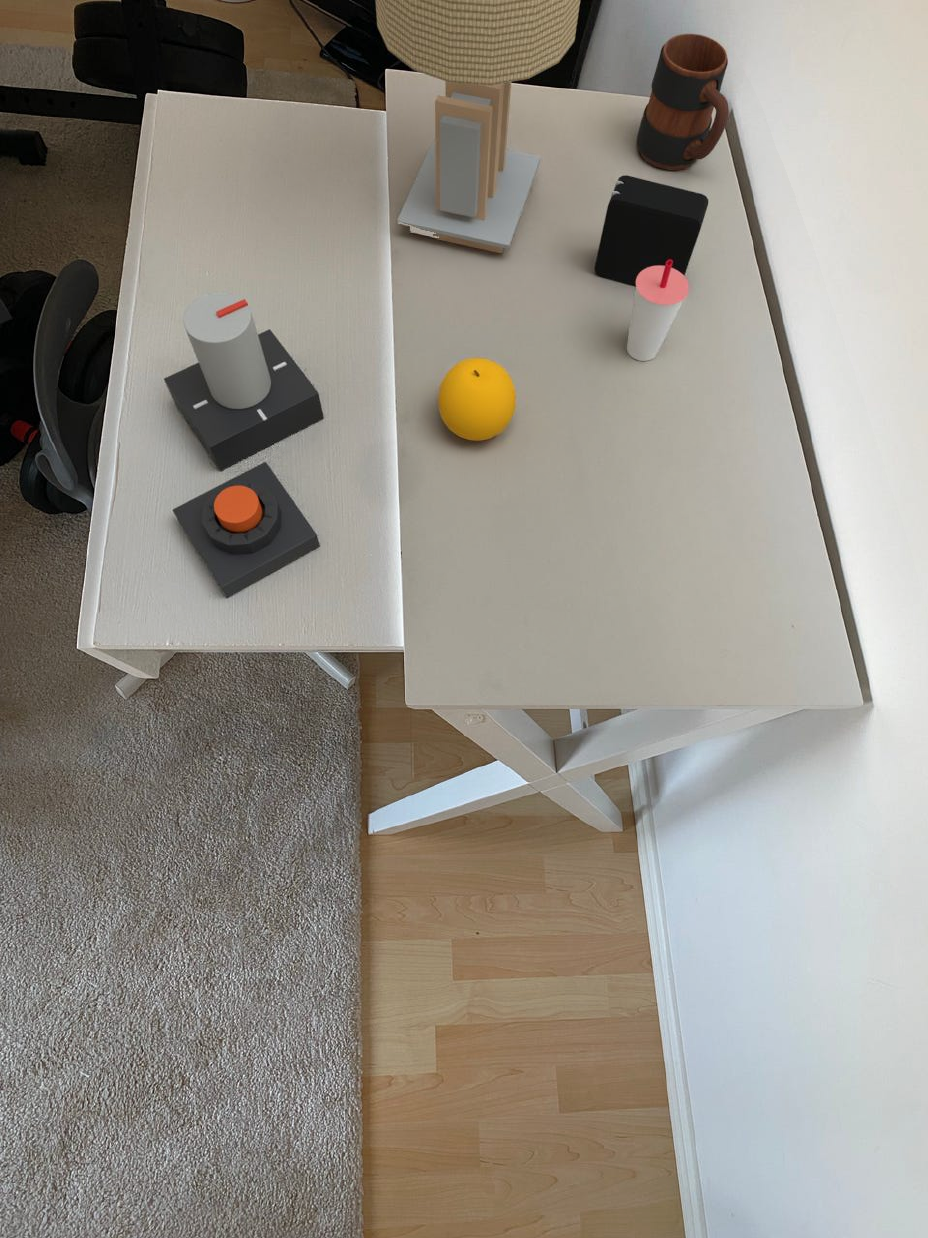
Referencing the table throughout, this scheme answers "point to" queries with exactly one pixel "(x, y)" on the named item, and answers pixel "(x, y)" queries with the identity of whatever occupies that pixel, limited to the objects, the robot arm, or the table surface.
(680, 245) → the electronic device
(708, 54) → the mug
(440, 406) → the yellow orange fruit
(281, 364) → the dial panel
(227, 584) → the button base
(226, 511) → the power button
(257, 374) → the timer dial
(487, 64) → the desk lamp
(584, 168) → the table surface
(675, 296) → the cup
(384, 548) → the table surface
